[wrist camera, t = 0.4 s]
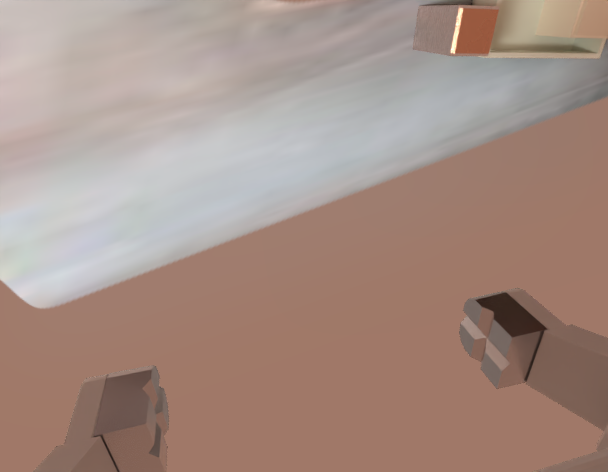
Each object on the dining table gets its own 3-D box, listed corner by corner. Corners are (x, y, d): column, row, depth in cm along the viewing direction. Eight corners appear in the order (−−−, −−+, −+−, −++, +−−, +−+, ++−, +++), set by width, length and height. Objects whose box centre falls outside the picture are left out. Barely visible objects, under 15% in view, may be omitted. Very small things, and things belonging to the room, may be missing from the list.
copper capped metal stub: (418, 5, 50) (461, 4, 43) (453, 7, 52) (502, 6, 44) (412, 49, 53) (451, 56, 45) (446, 49, 54) (490, 56, 46)
